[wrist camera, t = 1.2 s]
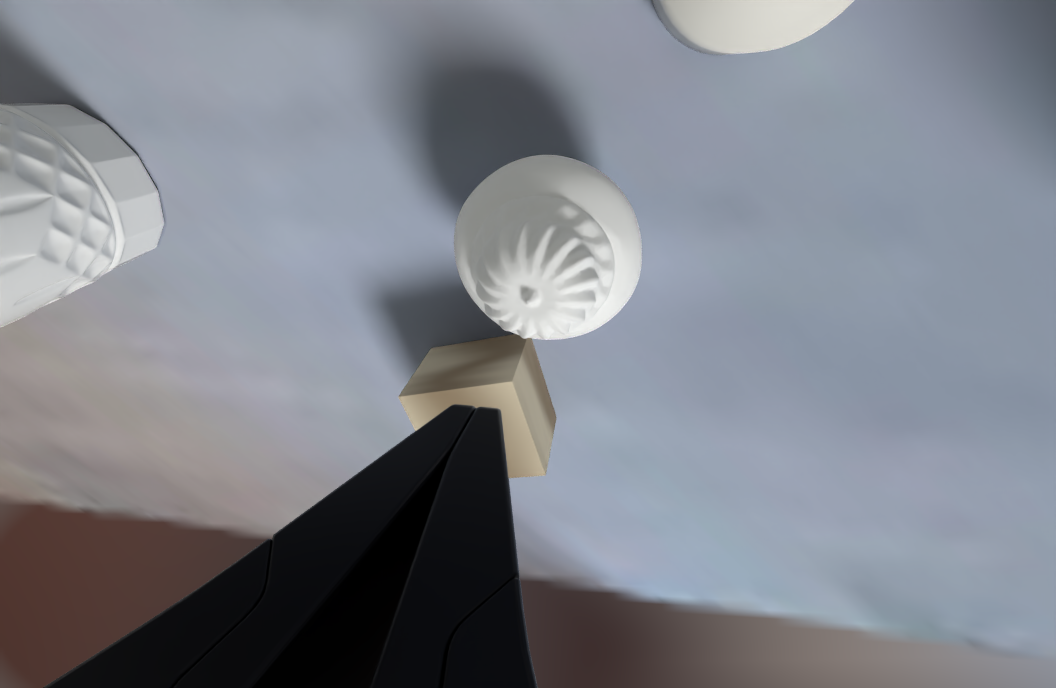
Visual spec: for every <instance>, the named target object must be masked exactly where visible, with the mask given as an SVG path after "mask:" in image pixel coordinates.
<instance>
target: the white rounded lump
mask: <svg viewBox="0 0 1056 688" xmlns="http://www.w3.org/2000/svg"><path fill="white" fill-rule="evenodd" d="M853 1H854V0H653V4H654V7H655V10H656V12H657V14H658V16H659V18H660V20H661V22H662V23H663V25H664V26H665V28H666V29H667V30H668V31H669V32H670V34H671V35H672V36H673V37H674V38H675V39H677V40H678V41H679V42H680V43H681V44H683V45H685V46H687V47H688V48H690V49H692V50H695V51H698V52H700V53H705V54H710V55H730V54H742V53H753V52H764V51H769V50H774V49H778V48H782V47H785V46H787V45H790V44H793V43H795V42H798V41H800V40H802V39H804V38H805V37H807V36H809V35H811V34H813V33H815V32H816V31H818V30H819V29H821V28H822V27H824V26H825V25H827V24H828V23H829V22H831V21H832V20H833V19H834V18H836V17H837V16H838V15H839V14H841V13H842V12H843V11H844V10H845V9H846V8H847V7H848V6H849V5H850V4H851V3H852V2H853Z"/></svg>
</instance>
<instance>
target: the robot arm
mask: <svg viewBox="0 0 1056 688" xmlns="http://www.w3.org/2000/svg"><path fill="white" fill-rule="evenodd" d="M43 688H537V683H536V678H535V674H534V669H533V664H532V660H531V655H530V651H529V643H528V637H527V630H526V623H525V617H524V610H523V601H522V593H521V583H520V580H519V568H518V559H517V550H516V541H515V532H514V523H513V514H512V505H511V496H510V487H509V478H508V468H507V459H506V450H505V441H504V432H503V423H502V414H501V410H500V409H498V408H491V407H478V408H476V407H474V406H471V405H461V404H453V405H451V406H449V407H448V408H447V409H445V410H444V411H442V412H441V413H440V414H438V415H437V416H436V417H434V418H433V419H432V420H430V421H429V422H427V423H426V424H425V425H423V426H422V427H421V428H419V429H418V430H416V431H415V432H414V433H412V434H411V435H410V436H408V437H407V438H405V439H404V440H403V441H401V442H400V443H399V444H397V445H396V446H395V447H393V448H392V449H390V450H389V451H388V452H386V453H385V454H384V455H382V456H381V457H379V458H378V459H377V460H375V461H374V462H373V463H371V464H370V465H368V466H367V467H366V468H364V469H363V470H362V471H360V472H359V473H358V474H356V475H355V476H353V477H352V478H351V479H349V480H348V481H347V482H345V483H344V484H342V485H341V486H340V487H338V488H337V489H336V490H334V491H333V492H331V493H330V494H329V495H327V496H326V497H325V498H323V499H322V500H321V501H319V502H318V503H316V504H315V505H314V506H312V507H311V508H310V509H308V510H307V511H305V512H304V513H303V514H301V515H300V516H299V517H297V518H296V519H294V520H293V521H292V522H290V523H289V524H288V525H286V526H285V527H284V528H282V529H281V530H279V531H278V532H277V533H275V534H274V535H273V538H272V539H267V540H266V541H264V542H263V543H261V544H260V545H259V546H257V547H256V548H254V549H253V550H252V551H250V552H249V553H248V554H246V555H245V556H243V557H242V558H241V559H239V560H238V561H236V562H235V563H234V564H232V565H231V566H229V567H228V568H227V569H225V570H224V571H222V572H221V573H220V574H218V575H217V576H215V577H214V578H212V579H211V580H209V581H208V582H207V583H205V584H204V585H202V586H201V587H199V588H198V589H196V590H195V591H193V592H192V593H190V594H189V595H187V596H186V597H184V598H183V599H181V600H180V601H178V602H177V603H175V604H173V605H172V606H170V607H169V608H167V609H166V610H164V611H163V612H161V613H160V614H158V615H157V616H155V617H154V618H152V619H151V620H149V621H147V622H146V623H144V624H143V625H141V626H140V627H138V628H137V629H135V630H133V631H132V632H130V633H129V634H127V635H125V636H124V637H122V638H121V639H119V640H118V641H116V642H114V643H113V644H111V645H110V646H108V647H106V648H105V649H103V650H102V651H100V652H99V653H97V654H95V655H94V656H92V657H91V658H89V659H88V660H86V661H84V662H83V663H81V664H80V665H78V666H76V667H75V668H73V669H72V670H70V671H69V672H67V673H66V674H64V675H62V676H61V677H59V678H57V679H56V680H54V681H53V682H51V683H50V684H48V685H46V686H45V687H43Z"/></svg>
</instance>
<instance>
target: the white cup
mask: <svg viewBox="0 0 1056 688" xmlns="http://www.w3.org/2000/svg"><path fill="white" fill-rule="evenodd" d="M163 227H164V218H163V213H162V208H161V203H160V198H159V193H158V190H157V188H156V186H155V185H154V183H153V181H152V179H151V178H150V176H149V174H148V172H147V171H146V169H145V167H144V166H143V164H142V162H141V160H140V159H139V157H138V156H137V154H136V153H135V152H134V151H133V150H132V149H131V148H130V147H129V146H128V145H127V144H126V143H125V142H124V141H123V140H122V139H121V138H120V137H119V136H118V135H117V134H116V133H115V132H114V131H112V130H111V129H110V128H109V127H108V126H107V125H106V124H105V123H103V122H101V121H99V120H97V119H95V118H93V117H92V116H90V115H88V114H86V113H84V112H82V111H80V110H78V109H76V108H75V107H73V106H71V105H67V104H46V103H14V104H0V328H1V327H3V326H5V325H7V324H10V323H12V322H14V321H16V320H18V319H21V318H23V317H25V316H27V315H29V314H31V313H33V312H34V311H36V310H37V309H39V308H41V307H42V306H45V305H47V304H50V303H52V302H54V301H57V300H59V299H61V298H63V297H65V296H67V295H69V294H70V293H72V292H74V291H76V290H77V289H79V288H82V287H84V286H87V285H89V284H91V283H93V282H95V281H97V280H98V279H99V278H100V277H101V276H102V275H103V274H105V273H107V272H109V271H111V270H113V269H115V268H117V267H120V266H122V265H124V264H126V263H128V262H131V261H133V260H135V259H137V258H139V257H140V256H142V255H144V254H146V253H148V252H149V251H151V250H153V249H155V248H156V247H157V245H158V242H159V239H160V236H161V233H162V230H163Z"/></svg>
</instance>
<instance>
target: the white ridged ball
mask: <svg viewBox="0 0 1056 688" xmlns="http://www.w3.org/2000/svg"><path fill="white" fill-rule="evenodd" d="M454 252H455V260H456V265H457V269H458V273H459V275H460V278H461V280H462V282H463V285H464V287H465V289H466V290H467V292H468V293H469V295H470V296H471V298H472V299H473V301H474V302H475V303H476V304H477V305H478V307H479V308H480V309H481V310H482V311H483V312H484V313H485V314H486V315H487V316H488V317H489V318H491V319H492V320H493V321H494V322H496V323H497V324H498V325H500V326H501V328H502V329H503V330H505V331H510V332H512V333H514V334H517V335H520V336H521V337H522V338H524V339H526V338H533V339H543V340H555V339H565V338H572V337H576V336H580V335H583V334H586V333H588V332H591V331H593V330H595V329H597V328H599V327H600V326H602V325H603V324H605V323H606V322H608V321H609V320H610V319H611V318H613V317H614V316H615V315H616V314H617V313H618V312H619V311H620V310H621V309H622V308H623V307H624V305H625V304H626V303H627V302H628V300H629V299H630V297H631V296H632V294H633V292H634V290H635V288H636V285H637V283H638V280H639V276H640V271H641V265H642V242H641V235H640V229H639V225H638V222H637V219H636V216H635V213H634V211H633V209H632V206H631V204H630V203H629V201H628V199H627V198H626V196H625V195H624V193H623V192H622V191H621V189H620V188H619V187H618V186H617V185H616V184H615V183H614V182H613V181H612V180H611V179H610V178H609V177H608V176H606V175H605V174H603V173H602V172H601V171H599V170H597V169H596V168H594V167H592V166H590V165H588V164H586V163H584V162H581V161H578V160H576V159H572V158H569V157H564V156H559V155H535V156H530V157H525V158H522V159H519V160H516V161H513V162H511V163H509V164H507V165H505V166H503V167H501V168H499V169H498V170H496V171H495V172H493V173H492V174H491V175H489V176H488V177H487V178H486V179H485V180H483V181H482V182H481V183H480V184H479V185H478V186H477V187H476V188H475V189H474V191H473V192H472V193H471V194H470V195H469V197H468V198H467V200H466V201H465V203H464V205H463V206H462V208H461V211H460V213H459V216H458V219H457V222H456V227H455V233H454Z"/></svg>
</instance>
